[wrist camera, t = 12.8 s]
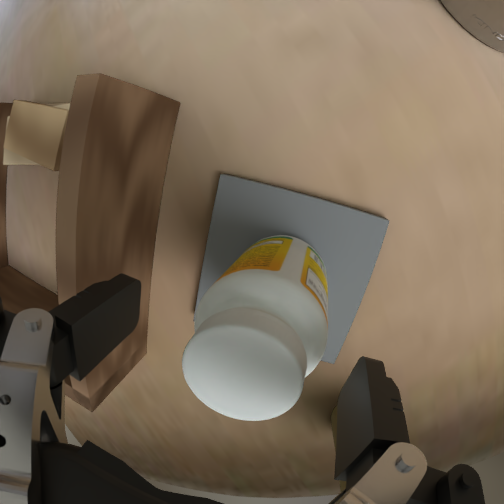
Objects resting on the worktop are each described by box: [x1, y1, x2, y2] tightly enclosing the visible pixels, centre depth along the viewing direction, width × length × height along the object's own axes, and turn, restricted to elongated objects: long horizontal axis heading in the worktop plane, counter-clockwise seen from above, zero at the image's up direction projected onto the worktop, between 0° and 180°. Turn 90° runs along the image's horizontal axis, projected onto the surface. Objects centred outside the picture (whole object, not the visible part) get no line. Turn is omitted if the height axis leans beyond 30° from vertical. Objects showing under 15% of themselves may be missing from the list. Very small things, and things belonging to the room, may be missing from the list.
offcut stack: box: [3, 100, 70, 171], centre depth 17 cm, size 6×12×4 cm, turn 77°
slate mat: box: [194, 174, 389, 364], centre depth 18 cm, size 10×10×1 cm
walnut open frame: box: [0, 73, 180, 412], centre depth 18 cm, size 20×22×8 cm
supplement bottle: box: [182, 235, 328, 421], centre depth 13 cm, size 5×5×10 cm
